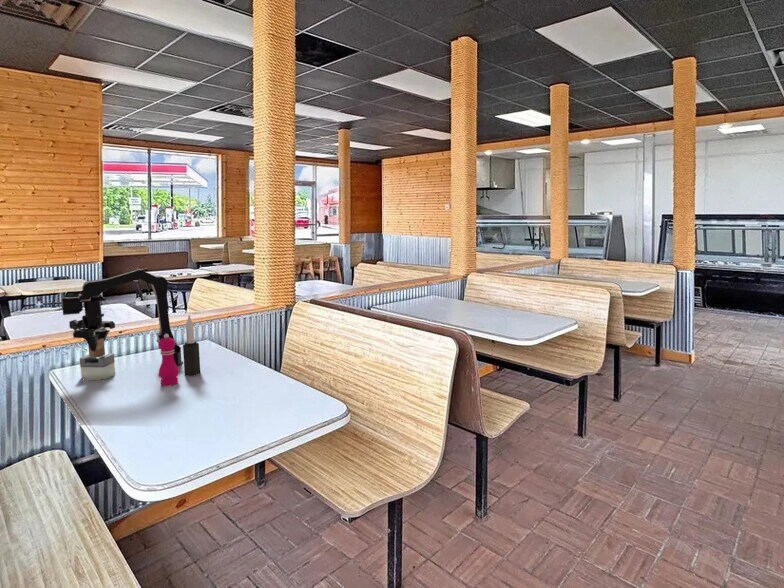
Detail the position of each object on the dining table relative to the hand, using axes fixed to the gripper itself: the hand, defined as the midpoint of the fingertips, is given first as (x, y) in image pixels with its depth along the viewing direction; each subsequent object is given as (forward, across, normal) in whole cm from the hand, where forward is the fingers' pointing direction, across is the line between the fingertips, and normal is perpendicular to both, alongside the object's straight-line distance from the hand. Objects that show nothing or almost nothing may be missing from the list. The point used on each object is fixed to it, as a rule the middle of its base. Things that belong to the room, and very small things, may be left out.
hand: (96, 349), depth 205 cm
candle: (+11, -5, +37) cm, 39 cm away
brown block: (+2, 0, 0) cm, 2 cm away
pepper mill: (+11, +7, +33) cm, 36 cm away
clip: (+6, 0, 0) cm, 6 cm away
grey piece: (+11, 0, 0) cm, 11 cm away
